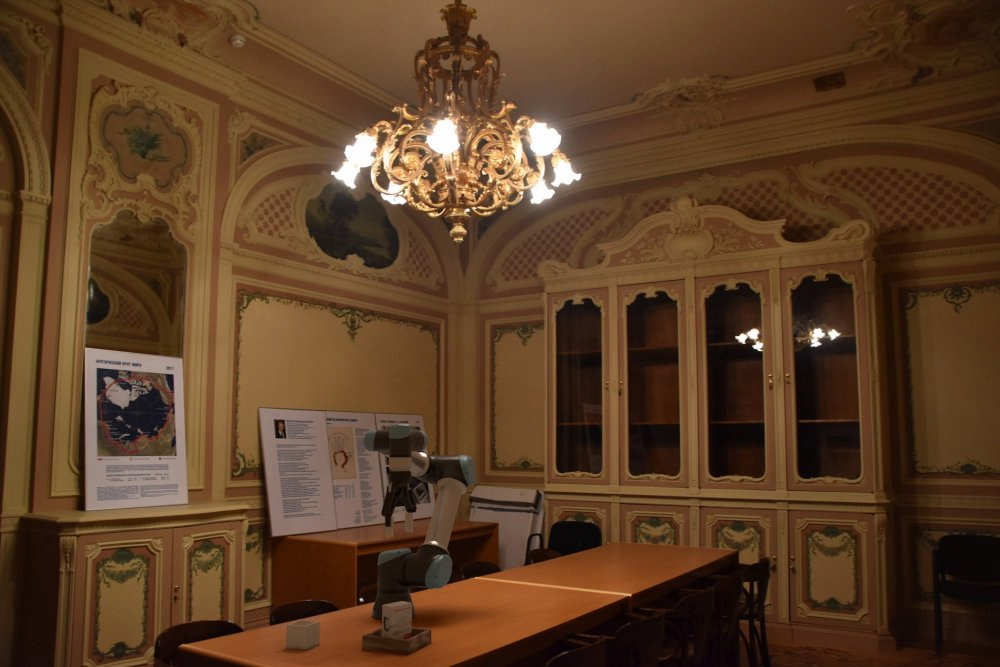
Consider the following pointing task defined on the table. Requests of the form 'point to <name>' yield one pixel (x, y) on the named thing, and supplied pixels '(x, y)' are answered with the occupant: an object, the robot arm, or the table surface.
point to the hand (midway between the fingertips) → (399, 534)
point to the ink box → (397, 620)
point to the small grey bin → (302, 634)
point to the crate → (396, 642)
